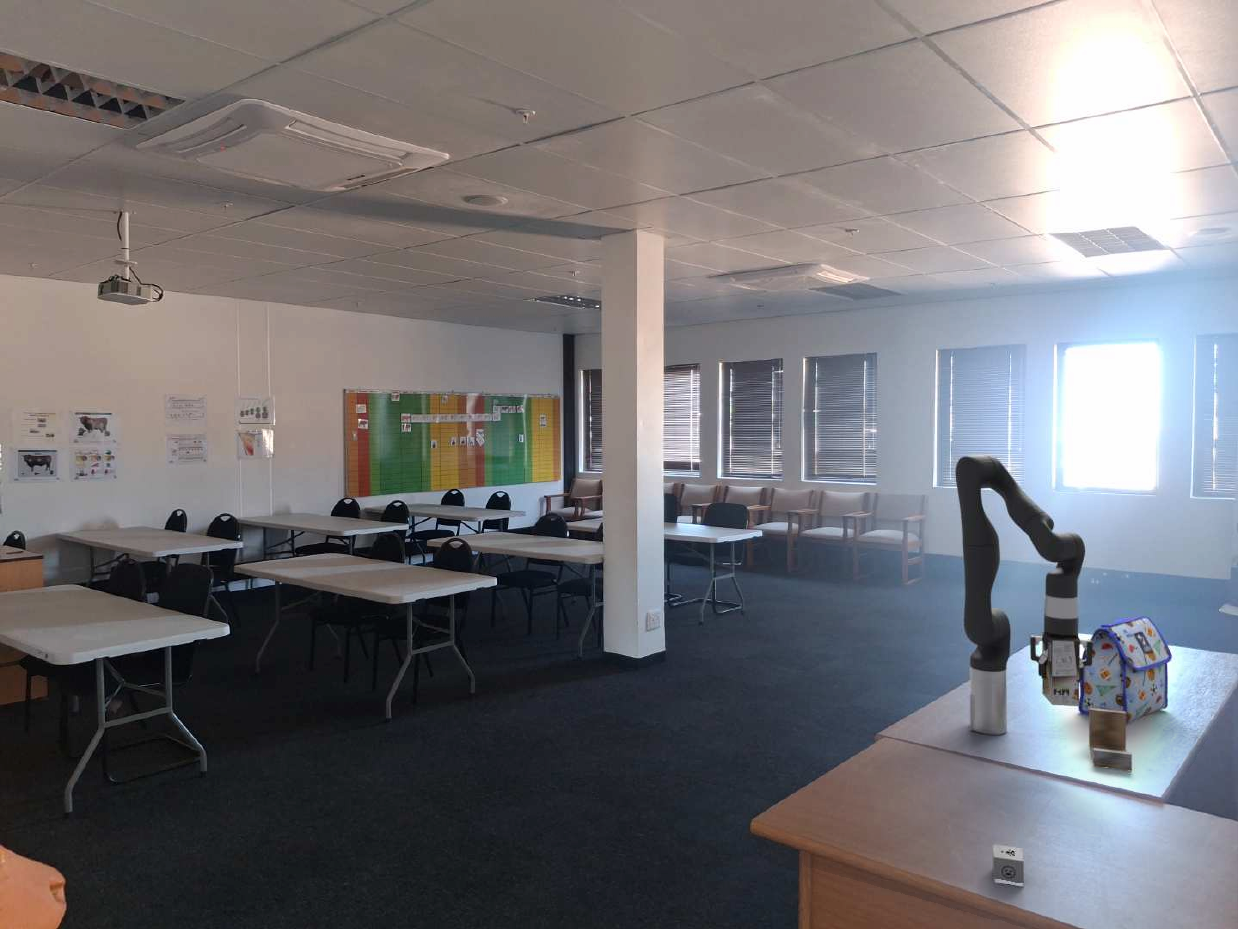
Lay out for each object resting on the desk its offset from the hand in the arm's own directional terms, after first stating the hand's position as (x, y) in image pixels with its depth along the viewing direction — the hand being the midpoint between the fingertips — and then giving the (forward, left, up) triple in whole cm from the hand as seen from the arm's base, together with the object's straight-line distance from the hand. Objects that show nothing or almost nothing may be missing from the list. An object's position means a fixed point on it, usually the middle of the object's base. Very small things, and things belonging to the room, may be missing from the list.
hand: (1060, 679), depth 212 cm
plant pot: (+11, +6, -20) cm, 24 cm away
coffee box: (0, 0, -5) cm, 5 cm away
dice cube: (-11, -64, -21) cm, 68 cm away
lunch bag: (+18, +44, -21) cm, 52 cm away
